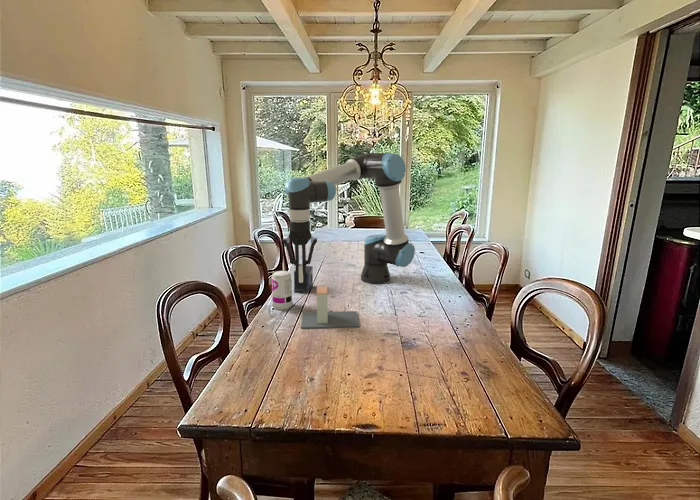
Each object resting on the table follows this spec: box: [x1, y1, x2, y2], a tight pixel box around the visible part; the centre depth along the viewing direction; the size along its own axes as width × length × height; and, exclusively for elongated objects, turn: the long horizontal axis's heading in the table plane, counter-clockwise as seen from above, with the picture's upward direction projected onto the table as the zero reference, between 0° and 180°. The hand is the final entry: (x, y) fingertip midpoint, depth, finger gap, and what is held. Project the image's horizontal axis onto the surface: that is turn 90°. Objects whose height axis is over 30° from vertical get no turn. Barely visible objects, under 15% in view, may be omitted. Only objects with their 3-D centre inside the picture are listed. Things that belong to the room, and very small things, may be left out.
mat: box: [300, 310, 360, 330], centre depth 158 cm, size 22×14×1 cm, turn 94°
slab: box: [316, 286, 329, 323], centre depth 156 cm, size 4×8×12 cm, turn 4°
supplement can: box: [271, 270, 293, 311], centre depth 170 cm, size 8×8×15 cm
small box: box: [293, 265, 314, 294], centre depth 191 cm, size 11×6×10 cm, turn 168°
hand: (301, 281), depth 153 cm, fingers closed
